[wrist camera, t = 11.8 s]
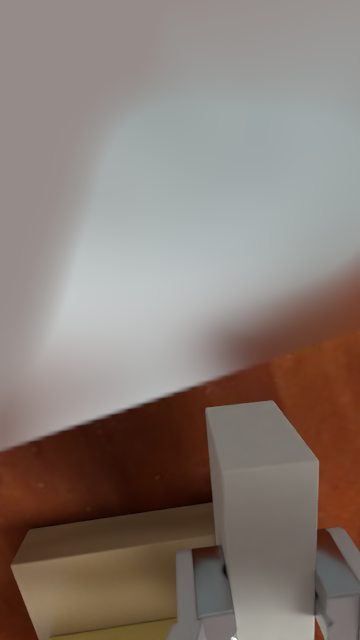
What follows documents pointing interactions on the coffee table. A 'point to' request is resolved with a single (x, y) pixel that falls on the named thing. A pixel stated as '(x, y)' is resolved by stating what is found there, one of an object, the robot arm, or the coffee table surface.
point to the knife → (265, 518)
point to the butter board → (107, 569)
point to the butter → (126, 632)
